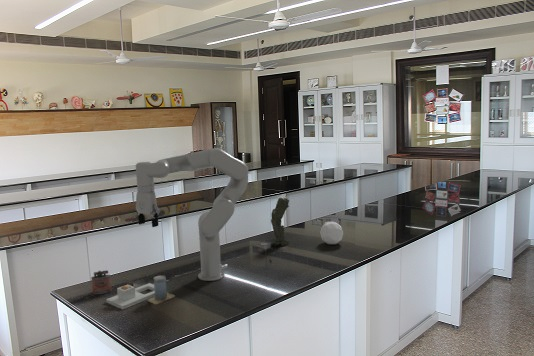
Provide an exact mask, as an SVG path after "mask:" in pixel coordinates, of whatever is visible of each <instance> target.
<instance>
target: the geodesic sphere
mask: <svg viewBox="0 0 534 356" xmlns="http://www.w3.org/2000/svg"><path fill="white" fill-rule="evenodd" d="M323 223H324V224H323V225H322V226H321V229H320V233H319V234H320V237H321V240H322V241H323V242H324V243H325V244H327V245H337V244H338V243H339V242H341V240H342V239H343V237H344V231H343V229H342V226H341V225H340V224H339V223H337V222H336V221H333V220H331V221H324V222H323Z"/></svg>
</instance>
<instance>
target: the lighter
mask: <svg viewBox="0 0 534 356" xmlns="http://www.w3.org/2000/svg"><path fill="white" fill-rule="evenodd" d="M90 279H91V280H90V281H91V287H92V295H103V294H108V293H111V292H112V291H113V289H112V284H111V274H109V270H107V269H106V270H102V271H101V270H98V271H94V272H93V276H92V277H91V278H90Z"/></svg>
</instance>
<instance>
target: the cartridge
mask: <svg viewBox="0 0 534 356" xmlns="http://www.w3.org/2000/svg"><path fill="white" fill-rule="evenodd" d="M166 277H167V276H166V275H157V276H154V277H153V284H154V290H155V299H156V300H163V299H166V298H167V293H168V291H167V279H166Z"/></svg>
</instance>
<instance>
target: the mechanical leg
mask: <svg viewBox="0 0 534 356" xmlns="http://www.w3.org/2000/svg"><path fill="white" fill-rule="evenodd" d="M289 202H290V200H289V199H288V198H283V197H279V198H278V199H277V201H276V206H275V208H273V209H272V211H271V214H270V215H271V218H270V223H271V225H272V229H273V233H274V236H275V239H274V241H273V242H272V243H271V244H270V247H272V248H280V247H283V246H287V245H289V244H290V241H289V240H287V239H285V225H283V224H282V219H283V217H284V215H285V213H286V211H287V209H288V208H289V207H290V206H289Z"/></svg>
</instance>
